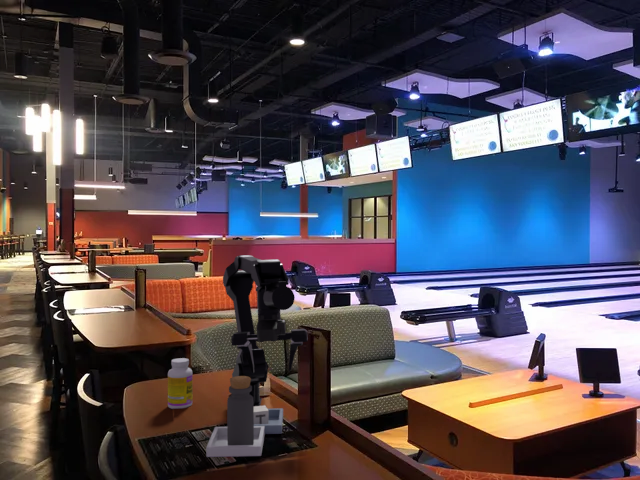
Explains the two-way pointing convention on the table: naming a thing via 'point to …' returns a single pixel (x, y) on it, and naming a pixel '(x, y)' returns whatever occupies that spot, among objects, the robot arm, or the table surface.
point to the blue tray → (274, 421)
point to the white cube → (261, 415)
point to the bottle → (240, 412)
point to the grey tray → (222, 449)
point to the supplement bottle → (180, 384)
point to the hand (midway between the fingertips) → (271, 372)
